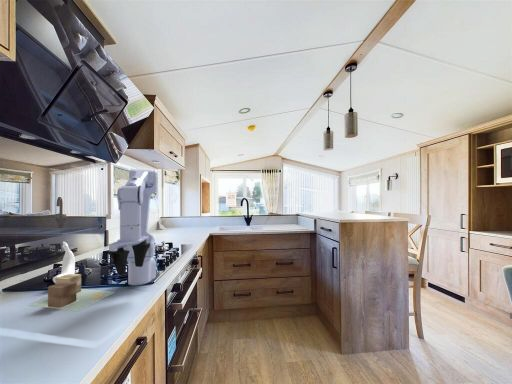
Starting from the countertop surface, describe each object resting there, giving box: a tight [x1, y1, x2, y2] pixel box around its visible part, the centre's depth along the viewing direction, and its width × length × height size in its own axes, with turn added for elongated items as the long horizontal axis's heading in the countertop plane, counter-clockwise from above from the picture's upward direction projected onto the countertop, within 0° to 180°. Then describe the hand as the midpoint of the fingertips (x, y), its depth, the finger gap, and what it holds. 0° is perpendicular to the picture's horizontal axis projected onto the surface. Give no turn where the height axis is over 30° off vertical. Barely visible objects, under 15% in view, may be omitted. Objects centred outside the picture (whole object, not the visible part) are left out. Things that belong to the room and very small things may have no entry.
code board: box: [27, 288, 116, 312], centre depth 75 cm, size 14×17×1 cm
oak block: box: [56, 273, 82, 293], centre depth 79 cm, size 5×5×5 cm
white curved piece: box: [52, 241, 76, 285], centre depth 90 cm, size 5×19×15 cm, turn 31°
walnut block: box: [47, 281, 77, 308], centre depth 71 cm, size 5×5×5 cm
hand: (130, 270), depth 75 cm, fingers open, 7 cm apart
